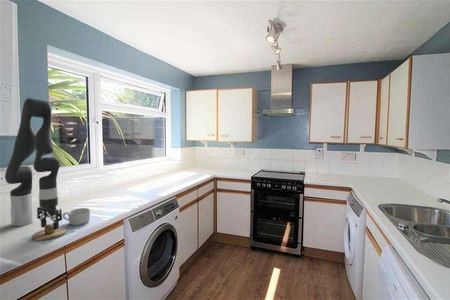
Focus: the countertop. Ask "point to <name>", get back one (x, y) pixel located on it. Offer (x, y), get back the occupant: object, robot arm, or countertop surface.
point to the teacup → (78, 216)
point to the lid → (48, 233)
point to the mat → (47, 240)
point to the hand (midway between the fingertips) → (49, 228)
